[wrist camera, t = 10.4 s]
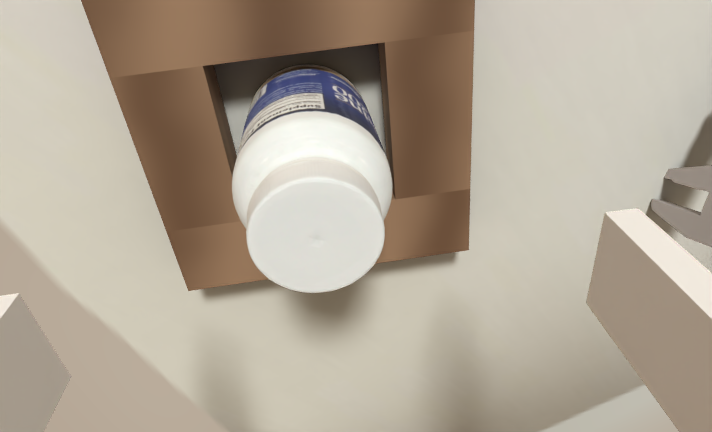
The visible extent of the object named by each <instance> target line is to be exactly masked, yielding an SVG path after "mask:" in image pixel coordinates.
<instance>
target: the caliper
mask: <svg viewBox="0 0 712 432" xmlns="http://www.w3.org/2000/svg"><path fill="white" fill-rule="evenodd" d="M664 178H666V179H671V180H672V181H673V182H675V183H678V184H681V185H685V186H688V187H692V188H695V189H699V190H705V191H708V192H709V194H708V197H707V199H706V201H705V204H704V206H703V209H702V212H698V211H695V210H692V209H689V208H685V207H682V206H679V205H677V204H674V203H671V202H669V201H663V200H656V199H652V202H651V207H652V210H653V211H654V212H655V213H656V214H657V215H659V216H660V217H661V218H662V219H663V220H665V221H666V222H667V223H668V224H670V225H671V226H672V227H673V228H675V229H676V230H677V231H678V232H680V233H681V234H682V235H683V236H685V237H686V238H689V239H692V240H694V241H697V242H699V243H702V244H705V245H707V246H710V247H712V165H708V166H696V167H685V168H673V169H668V171H667V173H666V175H665V176H664Z"/></svg>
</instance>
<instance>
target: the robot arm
mask: <svg viewBox="0 0 712 432" xmlns="http://www.w3.org/2000/svg"><path fill="white" fill-rule="evenodd" d="M586 304H587V305H588V306H589V308H590V309H591V311H592V312H593V313H594V315H595V316H596V317H597V319H598V320H599V322H600V323H601V324H602V326H603V327H604V328H605V330H606V331H607V333H608V334H609V335H610V337H611V338H612V339H613V341H614V342H615V344H616V345H617V346H618V348H619V349H620V351H621V352H622V353H623V355H624V356H625V357H626V359H627V360H628V362H629V363H630V364H631V366H632V367H633V368H634V370H635V371H636V373H637V374H638V375H639V377H640V378H641V379H642V381H643V382H644V384H645V385H646V386H647V388H648V389H649V390H650V392H651V393H652V395H653V396H654V397H655V398H656V400H657V402H658V403H659V404H660V406H661V407H662V408H663V410H664V411H665V413H666V414H667V415H668V417H669V418H670V419H671V421H672V422H673V424H674V425H675V426H676V428H677V429H678V431H679V432H712V273H711V272H710V271H709V270H708V269H706V268H705V267H704V266H703V265H702V264H701V263H700V262H698V261H697V260H696V259H695V258H694V257H693V256H692V255H691V254H689V253H688V252H687V251H686V250H685V249H684V248H683V247H682V246H680V245H679V244H678V243H677V242H676V241H675V240H674V239H672V238H671V237H670V236H669V235H668V234H667V233H666V232H665V231H663V230H662V229H661V228H660V227H659V226H658V225H657V224H655V223H654V222H653V221H652V220H651V219H650V218H649V217H648V216H646V215H645V214H644V213H643V212H642V211H641V210H640V209H639V208H634V209H627V210H620V211H612V212H605V214H604V219H603V224H602V229H601V233H600V238H599V243H598V248H597V253H596V258H595V262H594V267H593V272H592V277H591V282H590V287H589V291H588V296H587V301H586ZM70 378H71V375H70V374H69V372H68V370H67V369H66V367H65V366H64V364H63V362H62V361H61V359H60V358H59V356H58V354H57V353H56V351H55V350H54V348H53V346H52V345H51V343H50V342H49V340H48V338H47V337H46V335H45V334H44V332H43V330H42V329H41V327H40V326H39V324H38V323H37V321H36V319H35V318H34V316H33V315H32V313H31V311H30V310H29V308H28V307H27V305H26V304H25V302H24V300H23V299H22V297H21V295H20V294H19V293H17V294H10V295H3V296H0V432H44V430H45V428H46V426H47V424H48V422H49V420H50V418H51V416H52V414H53V412H54V410H55V408H56V406H57V404H58V402H59V400H60V398H61V396H62V394H63V392H64V390H65V388H66V386H67V384H68V382H69V380H70Z"/></svg>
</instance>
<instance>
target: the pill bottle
mask: <svg viewBox="0 0 712 432" xmlns="http://www.w3.org/2000/svg"><path fill="white" fill-rule="evenodd" d="M232 195H233V202H234V205H235V209H236V211H237V213H238V216H239V218H240V220H241V222H242V224H243V225H244V227H245V228H246V239H247V246H248V250H249V254H250V256H251V258H252V260H253V262H254V264H255V265H256V267H257V268H258V269H259V270H260V271H261V272H262V273H263V274H264V275H265V276H266V277H267V278H268V279H270V280H271V281H273V282H274V283H276V284H278V285H280V286H282V287H284V288H287V289H290V290H294V291H298V292H304V293H322V292H328V291H333V290H338V289H340V288H343V287H346V286H348V285H350V284H352V283H354V282H355V281H357V280H358V279H360V278H361V277H362V276H364V275H365V274H366V273H367V272H368V271H369V270H370V269H371V268H372V267H373V266H374V264H375V262H376V261H377V259H378V258H379V256H380V254H381V252H382V249H383V245H384V238H385V227H384V219H385V217H386V215H387V213H388V210H389V207H390V204H391V199H392V177H391V172H390V167H389V164H388V160H387V157H386V154H385V152H384V150H383V147H382V145H381V142H380V140H379V137H378V134H377V132H376V129H375V127H374V124H373V122H372V119H371V117H370V114H369V112H368V110H367V107H366V105H365V103H364V101H363V99H362V97H361V95H360V94H359V92H358V91H357V89H356V88H355V86H354V85H353V84H352V83H351V82H350V81H349V80H348V79H347V78H345V77H344V76H343V75H341V74H340V73H338V72H337V71H334V70H332V69H330V68H327V67H324V66H319V65H311V64H304V65H296V66H291V67H288V68H286V69H283V70H280V71H278V72H277V73H275V74H274V75H272V76H271V77H269V78H268V79H267V80H266V81H265V82H264V83H263V84H262V85H261V86H260V88H259V89H258V90H257V92H256V94H255V96H254V98H253V100H252V102H251V105H250V108H249V112H248V116H247V119H246V123H245V126H244V130H243V135H242V139H241V143H240V147H239V151H238V155H237V159H236V163H235V166H234V171H233V178H232Z"/></svg>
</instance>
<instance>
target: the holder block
mask: <svg viewBox="0 0 712 432" xmlns="http://www.w3.org/2000/svg"><path fill="white" fill-rule="evenodd" d="M81 1H82V4H83V7H84V9H85V12H86V15H87V18H88V20H89V23H90V26H91V28H92V31H93V34H94V37H95V39H96V42H97V45H98V47H99V50H100V53H101V55H102V58H103V61H104V64H105V66H106V69H107V72H108V74H109V77H110V80H111V83H112V85H113V88H114V91H115V93H116V96H117V99H118V102H119V104H120V107H121V110H122V112H123V115H124V118H125V120H126V123H127V126H128V129H129V131H130V134H131V137H132V139H133V142H134V145H135V148H136V150H137V153H138V156H139V158H140V161H141V164H142V166H143V169H144V172H145V175H146V177H147V180H148V183H149V185H150V188H151V191H152V194H153V196H154V199H155V202H156V204H157V207H158V210H159V212H160V215H161V218H162V221H163V223H164V226H165V229H166V231H167V234H168V237H169V240H170V242H171V245H172V248H173V250H174V253H175V256H176V258H177V261H178V264H179V267H180V269H181V272H182V275H183V277H184V280H185V283H186V286H187V288H188V291H191V290H198V289H205V288H212V287H219V286H226V285H232V284H239V283H246V282H253V281H260V280H267V279H268V278H267V277H266V276H265V275H264V274H263V273H262V272H261V271H260V270H259V269H258V268H257V267H256V265H255V264H254V262H253V260H252V258H251V256H250V254H249V250H248V246H247V239H246V228H245V227H244V225H243V224H242V222H241V220H240V218H239V216H238V213H237V211H236V209H235V205H234V202H233V195H232V178H233V171H234V166H235V163H236V159H237V156H236V152H235V148H234V144H233V140H232V136H231V132H230V128H229V124H228V120H227V116H226V112H225V108H224V105H223V101H222V97H221V93H220V89H219V85H218V81H217V77H216V73H215V69H214V64H222V63H229V62H237V61H245V60H253V59H260V58H268V57H276V56H283V55H291V54H299V53H306V52H314V51H322V50H329V49H337V48H345V47H353V46H360V45H368V44H376V43H378V47H379V60H380V73H381V86H382V100H383V113H384V126H385V139H386V153H387V160H388V164H389V167H390V172H391V177H392V199H391V204H390V207H389V210H388V213H387V215H386V217H385V219H384V227H385V238H384V245H383V249H382V252H381V254H380V256H379V258H378V259H377V261H376V262H375V264H376V263H383V262H390V261H397V260H404V259H411V258H417V257H424V256H431V255H438V254H445V253H452V252H459V251H465V250H469V215H470V174H471V133H472V92H473V51H474V10H475V0H81Z"/></svg>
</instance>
